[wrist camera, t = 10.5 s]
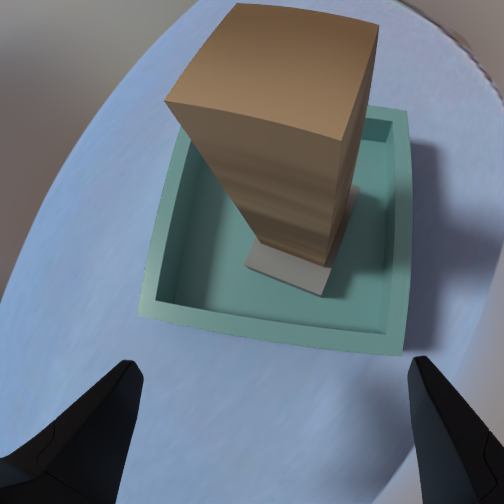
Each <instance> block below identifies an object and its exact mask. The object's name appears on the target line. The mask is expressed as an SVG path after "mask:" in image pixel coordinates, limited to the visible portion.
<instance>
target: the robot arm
mask: <svg viewBox="0 0 504 504" xmlns="http://www.w3.org/2000/svg"><path fill="white" fill-rule="evenodd" d="M143 381H144V378H143V374H142V372H141V371H140V369H139V368H138V366H137V364H136V363H135V362H134V361H133V360H122V361H121V362H120V363H118V364H117V365H116V366H115V367H114V368H113V369H112V370H111V371H109V372H108V373H107V374H106V375H105V376H104V377H103V378H101V379H100V380H99V381H98V382H97V383H96V384H95V385H93V386H92V387H91V388H90V389H89V390H88V391H87V392H86V393H84V394H83V395H82V396H81V397H80V398H79V399H78V400H77V401H75V402H74V403H73V404H72V405H71V406H70V407H69V408H67V409H66V410H65V411H64V412H63V413H62V414H61V415H60V416H58V417H57V418H56V420H54V421H53V422H52V423H50V424H49V425H48V426H47V427H46V428H45V429H43V430H42V431H41V432H40V433H39V434H37V435H36V436H35V437H33V438H32V439H31V440H29V441H28V442H27V443H25V444H24V445H22V446H21V447H20V448H18V449H17V450H15V451H14V452H13V453H11V454H10V455H8V456H6V457H3V458H0V504H115V503H116V499H117V494H118V490H119V486H120V482H121V478H122V473H123V469H124V465H125V462H126V458H127V454H128V450H129V446H130V442H131V439H132V435H133V431H134V428H135V424H136V420H137V416H138V410H139V404H140V398H141V393H142V387H143ZM408 389H409V400H410V413H411V423H412V430H413V435H414V441H415V447H416V453H417V459H418V466H419V474H420V482H421V490H422V499H423V504H504V447H503V446H502V444H501V443H500V442H499V441H498V440H497V438H496V437H495V436H494V435H493V434H492V432H491V431H489V429H488V427H487V426H486V425H485V424H484V422H483V421H482V420H481V419H480V418H479V416H478V415H477V414H476V413H475V411H474V410H473V409H472V408H471V407H470V406H469V404H468V403H467V402H466V401H465V400H464V398H463V397H462V396H461V395H460V394H459V393H458V391H457V390H456V389H455V388H454V387H453V386H452V384H451V383H450V382H449V381H448V380H447V379H446V377H445V376H444V375H443V374H442V373H441V372H440V371H439V369H438V368H437V367H436V366H435V365H434V364H433V363H432V362H431V360H430V359H429V358H428V357H427V356H417V357H414V358H413V360H412V362H411V365H410V368H409V371H408Z"/></svg>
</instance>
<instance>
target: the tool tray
mask: <svg viewBox="0 0 504 504" xmlns="http://www.w3.org/2000/svg"><path fill="white" fill-rule="evenodd" d="M352 184H354V185H356V186H359V187H360V190H359V193H358V196H357V199H356V202H355V205H354V208H353V211H352V214H351V217H350V220H349V223H348V226H347V229H346V232H345V234H344V237H343V240H342V243H341V245H340V248H339V251H338V254H337V256H336V259H335V262H334V264H333V267H332V270H331V272H330V275H329V278H328V280H327V283H326V285H325V288H324V290H323V293H322V295H321V298H320V297H318V296H315V295H313V294H310V293H308V292H305V291H303V290H300V289H297V288H295V287H292V286H290V285H287V284H285V283H282V282H280V281H277V280H275V279H272V278H270V277H267V276H265V275H262V274H260V273H257V272H255V271H252V270H250V269H248V268H247V267H246V266H245V265H244V263H245V261H246V259H247V256H248V254H249V252H250V249H251V247H252V245H253V242H254V240H255V238H256V235H255V234H254V232H253V231H252V229H251V228H250V226H249V225H248V223H247V222H246V220H245V219H244V218H243V216H242V215H241V213H240V212H239V210H238V209H237V207H236V206H235V204H234V203H233V201H232V200H231V198H230V197H229V195H228V194H227V192H226V191H225V189H224V188H223V186H222V185H221V183H220V182H219V180H218V179H217V177H216V176H215V175H214V173H213V172H212V170H211V169H210V167H209V166H208V164H207V163H206V161H205V160H204V158H203V157H202V155H201V154H200V152H199V151H198V150H197V148H196V147H195V145H194V144H193V142H192V141H191V139H190V138H189V136H188V135H187V133H186V132H185V131H184V129H183V128H182V126H181V127H180V130H179V134H178V137H177V140H176V144H175V147H174V151H173V154H172V158H171V161H170V165H169V168H168V172H167V176H166V180H165V183H164V187H163V191H162V195H161V199H160V203H159V207H158V211H157V216H156V220H155V224H154V229H153V233H152V238H151V242H150V247H149V252H148V257H147V262H146V267H145V272H144V277H143V282H142V288H141V294H140V299H139V305H138V311H137V315H139V316H143V317H148V318H152V319H156V320H161V321H165V322H169V323H174V324H179V325H183V326H188V327H193V328H198V329H203V330H208V331H213V332H218V333H224V334H229V335H235V336H240V337H246V338H252V339H258V340H264V341H271V342H277V343H284V344H291V345H298V346H305V347H313V348H321V349H329V350H338V351H347V352H357V353H367V354H378V355H391V356H402V350H403V344H404V337H405V329H406V321H407V312H408V303H409V292H410V280H411V264H412V241H413V186H412V163H411V148H410V136H409V125H408V116H407V111H403V110H397V109H391V108H384V107H377V106H369V105H368V106H367V111H366V117H365V122H364V127H363V132H362V137H361V142H360V147H359V152H358V157H357V162H356V166H355V171H354V175H353V180H352Z"/></svg>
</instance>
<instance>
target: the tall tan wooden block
mask: <svg viewBox="0 0 504 504" xmlns="http://www.w3.org/2000/svg"><path fill="white" fill-rule="evenodd" d="M378 32H379V25H377V24H374V23H370V22H366V21H362V20H358V19H353V18H349V17H344V16H339V15H335V14H329V13H324V12H318V11H312V10H305V9H298V8H291V7H282V6H272V5H260V4H243V3H237V4H236V5H235V6H234V7H233V8H232V10H231V11H230V12H229V13H228V14H227V15H226V17H225V18H224V19H223V20H222V22H221V23H220V24H219V25H218V26H217V28H216V29H215V30H214V31H213V33H212V34H211V35H210V37H209V38H208V39H207V40H206V42H205V43H204V44H203V46H202V47H201V48H200V50H199V51H198V52H197V54H196V55H195V56H194V58H193V59H192V60H191V62H190V63H189V65H188V66H187V67H186V69H185V70H184V72H183V73H182V75H181V76H180V77H179V79H178V80H177V82H176V83H175V85H174V86H173V88H172V89H171V91H170V92H169V94H168V95H167V97H166V98H165V100H164V101H165V103H166V104H167V106H168V107H169V109H170V110H171V112H172V113H173V115H174V116H175V117H176V119H177V120H178V122H179V123H180V125H181V126H182V128H183V129H184V131H185V132H186V133H187V135H188V136H189V138H190V139H191V141H192V142H193V144H194V145H195V147H196V148H197V150H198V151H199V152H200V154H201V155H202V157H203V158H204V160H205V161H206V163H207V164H208V166H209V167H210V169H211V170H212V172H213V173H214V175H215V176H216V177H217V179H218V180H219V182H220V183H221V185H222V186H223V188H224V189H225V191H226V192H227V194H228V195H229V197H230V198H231V200H232V201H233V203H234V204H235V206H236V207H237V209H238V210H239V212H240V213H241V215H242V216H243V218H244V219H245V220H246V222H247V223H248V225H249V226H250V228H251V229H252V231H253V232H254V234H255V235H256V238H255V240H254V242H253V245H252V247H251V249H250V252H249V254H248V256H247V259H246V261H245V263H244V265H245V266H246V267H247V268H248V269H250V270H252V271H255V272H257V273H260V274H262V275H265V276H267V277H270V278H272V279H275V280H277V281H280V282H282V283H285V284H287V285H290V286H292V287H295V288H297V289H300V290H303V291H305V292H308V293H310V294H313V295H315V296H318V297H320V298H321V295H322V293H323V290H324V288H325V285H326V283H327V280H328V278H329V275H330V272H331V270H332V267H333V264H334V262H335V259H336V256H337V254H338V251H339V248H340V245H341V243H342V240H343V237H344V234H345V232H346V229H347V226H348V223H349V220H350V217H351V214H352V211H353V208H354V205H355V202H356V199H357V196H358V193H359V190H360V187H359V186H356V185H354V184H352V180H353V175H354V171H355V166H356V162H357V157H358V152H359V147H360V142H361V137H362V132H363V127H364V122H365V117H366V111H367V106H368V100H369V94H370V88H371V82H372V76H373V69H374V62H375V55H376V48H377V40H378Z"/></svg>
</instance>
